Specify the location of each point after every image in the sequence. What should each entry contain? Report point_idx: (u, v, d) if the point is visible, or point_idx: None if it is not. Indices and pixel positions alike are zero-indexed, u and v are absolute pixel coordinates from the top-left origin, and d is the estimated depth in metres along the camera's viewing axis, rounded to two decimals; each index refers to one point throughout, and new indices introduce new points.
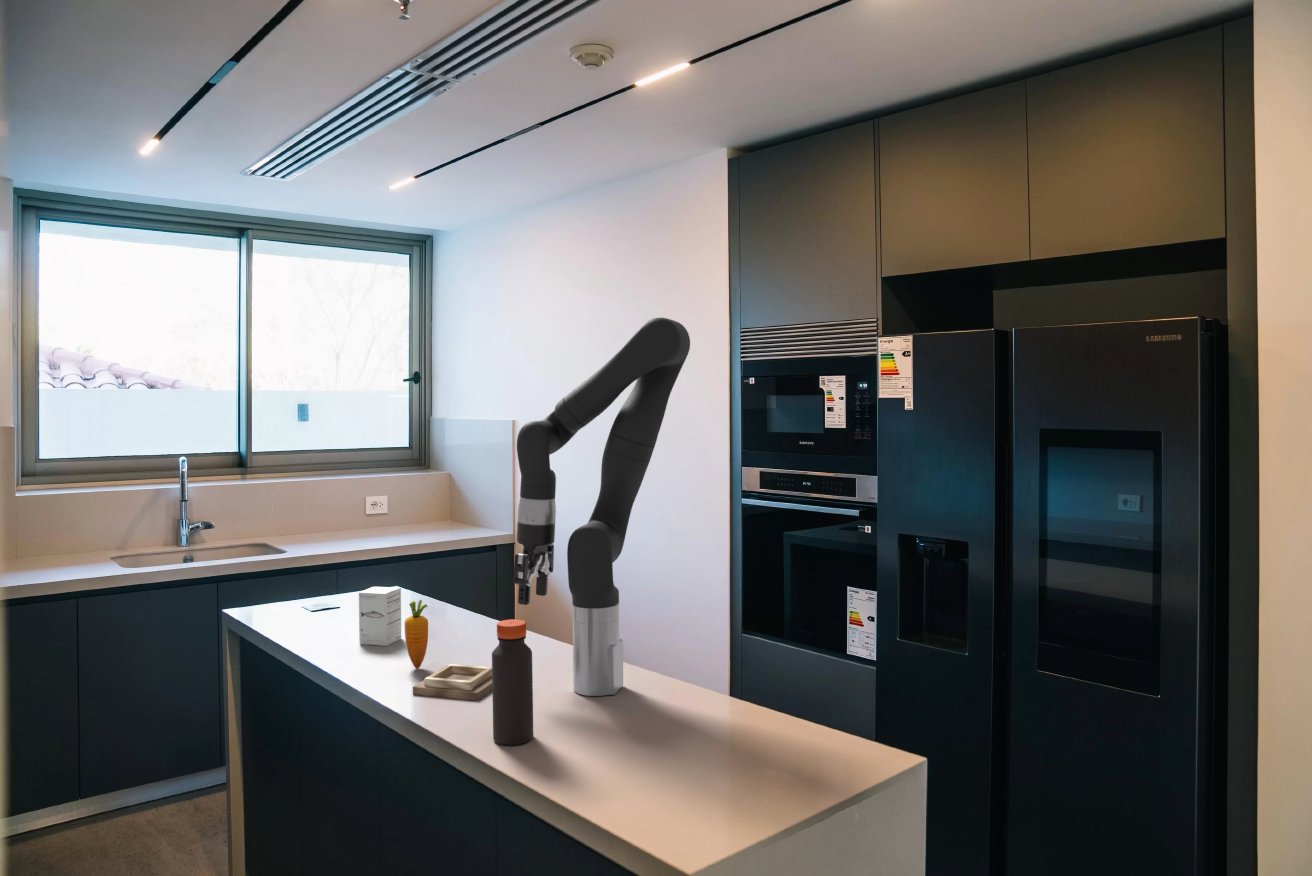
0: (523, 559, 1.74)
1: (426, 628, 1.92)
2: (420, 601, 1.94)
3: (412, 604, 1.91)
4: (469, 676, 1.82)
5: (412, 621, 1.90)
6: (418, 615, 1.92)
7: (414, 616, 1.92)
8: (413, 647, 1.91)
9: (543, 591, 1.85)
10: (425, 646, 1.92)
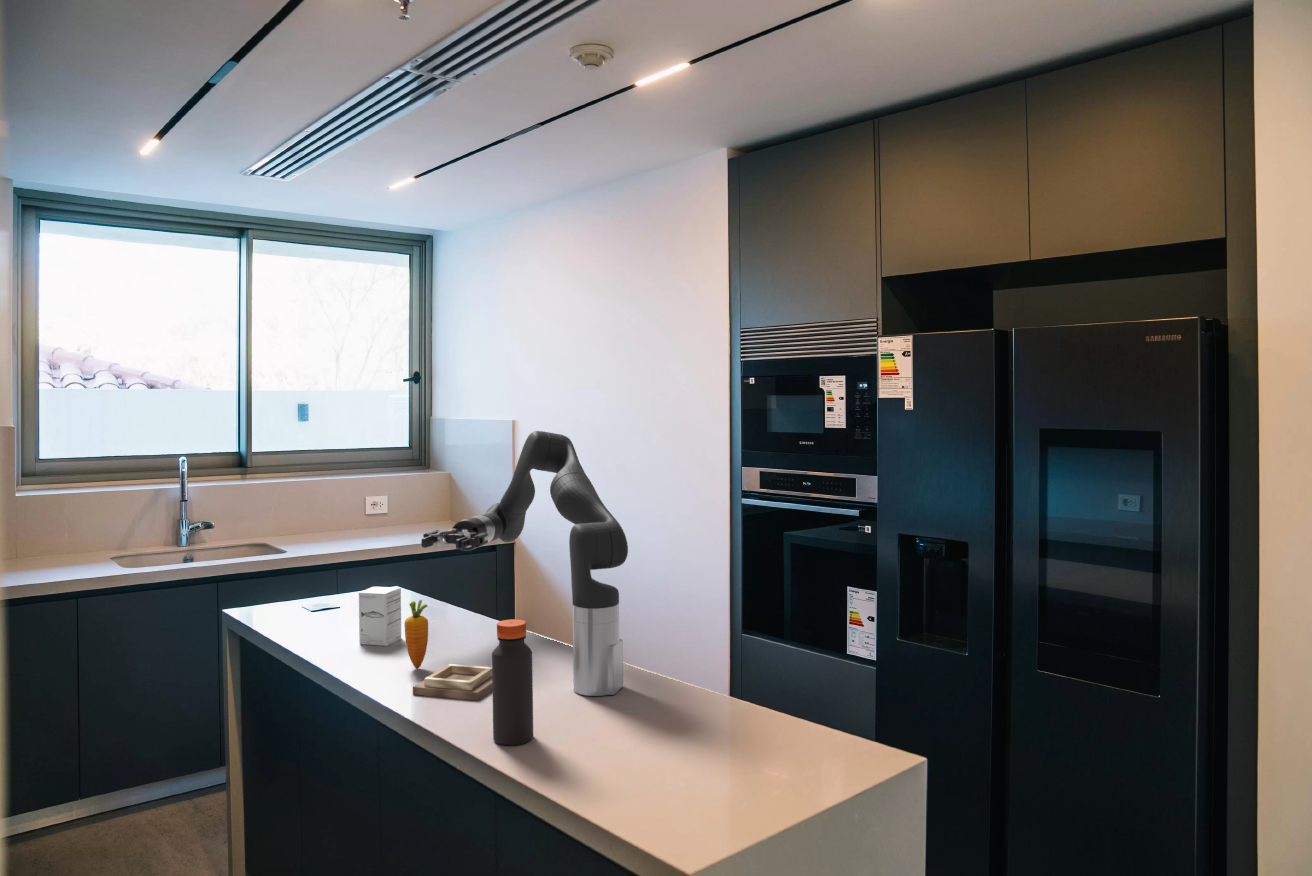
0: None
1: (426, 628, 1.92)
2: (420, 601, 1.94)
3: (412, 604, 1.91)
4: (469, 676, 1.82)
5: (412, 621, 1.90)
6: (418, 615, 1.92)
7: (414, 616, 1.92)
8: (413, 647, 1.91)
9: None
10: (425, 646, 1.92)
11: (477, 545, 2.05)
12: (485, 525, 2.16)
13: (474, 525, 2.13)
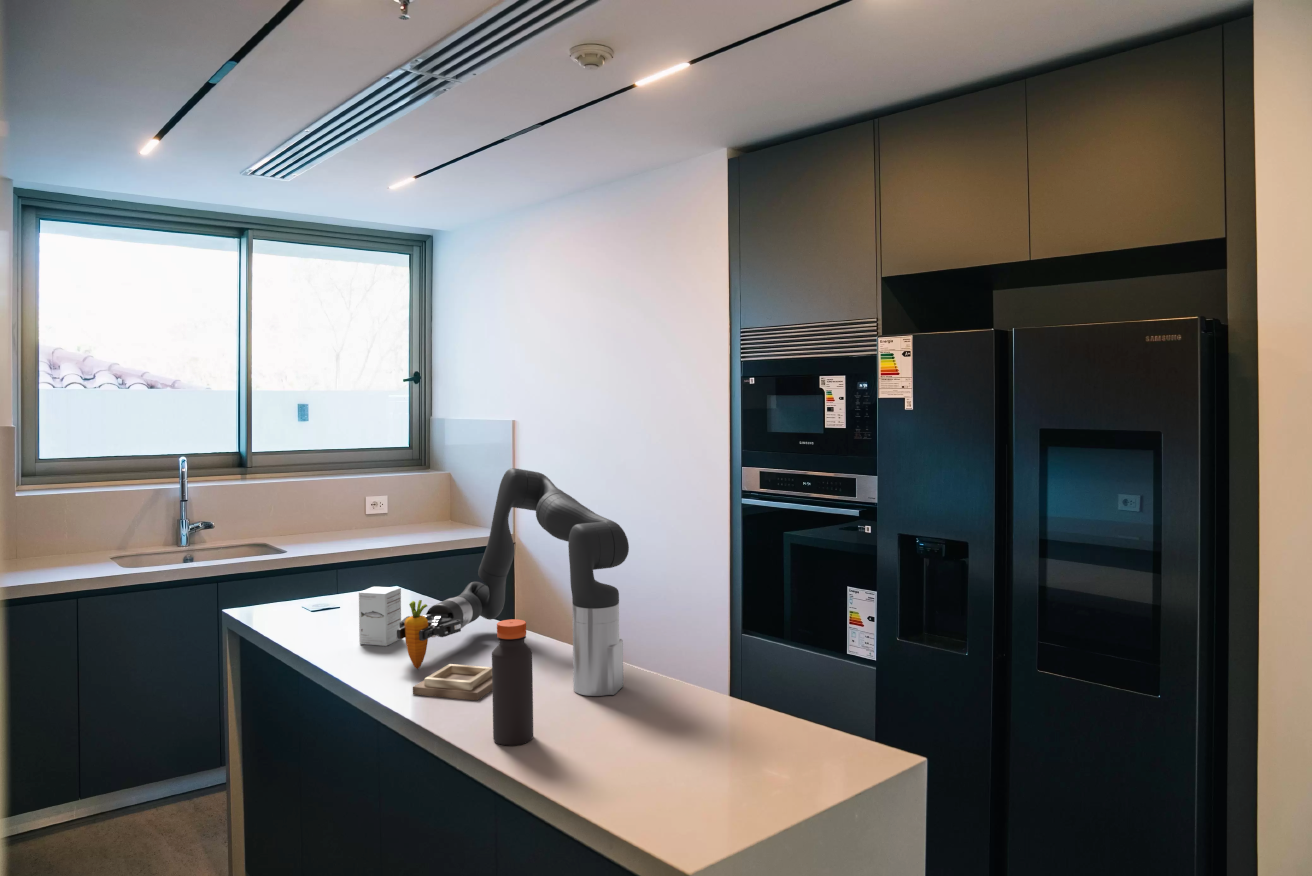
0: None
1: None
2: (420, 601, 1.94)
3: (412, 604, 1.91)
4: (469, 676, 1.82)
5: (412, 621, 1.90)
6: (418, 615, 1.92)
7: (414, 616, 1.92)
8: (413, 647, 1.91)
9: None
10: (425, 646, 1.92)
11: (441, 635, 1.93)
12: (461, 609, 2.05)
13: (449, 610, 2.01)
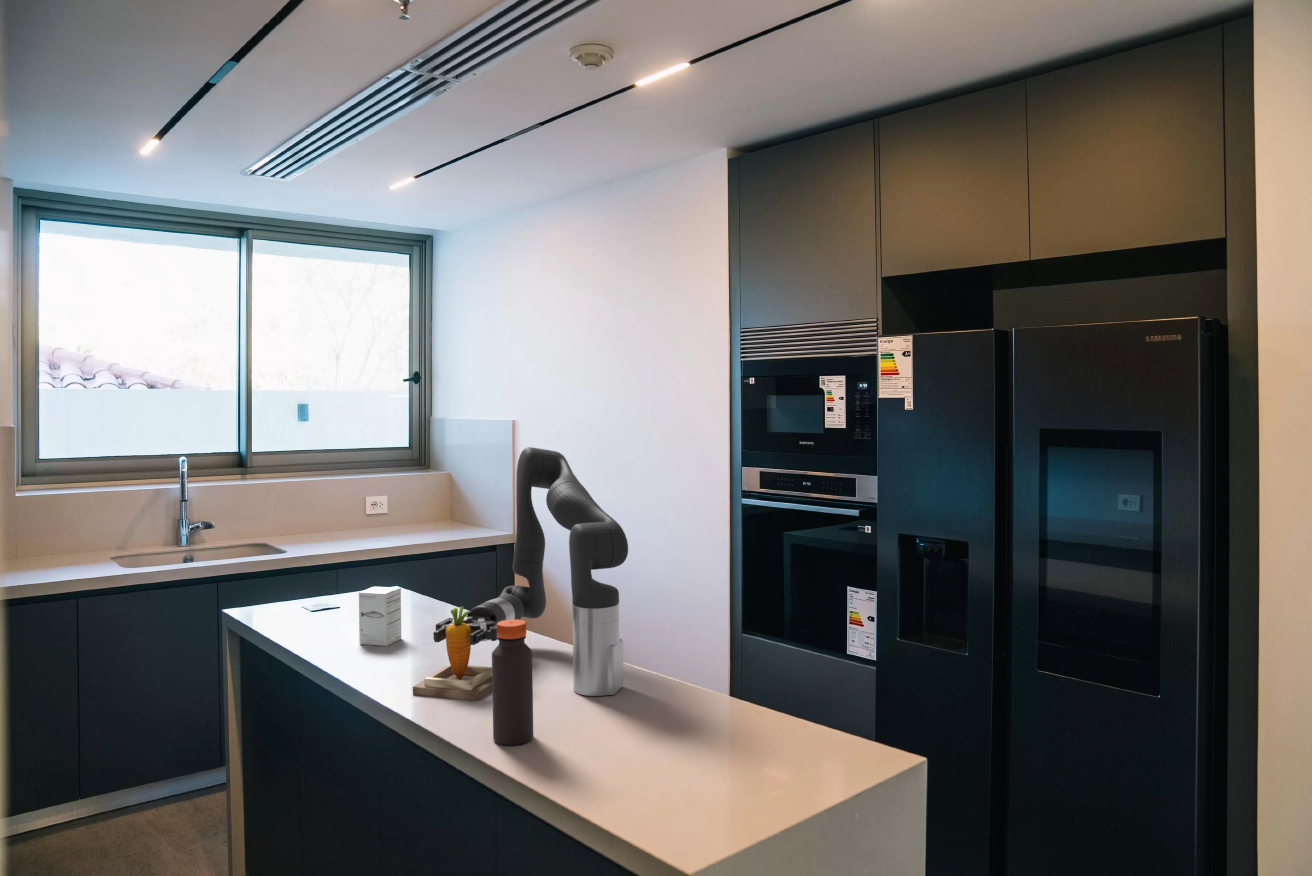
0: None
1: (469, 636, 1.79)
2: (462, 607, 1.81)
3: (454, 611, 1.78)
4: (469, 676, 1.82)
5: (454, 629, 1.77)
6: (460, 623, 1.79)
7: (456, 624, 1.79)
8: (456, 657, 1.78)
9: None
10: (468, 656, 1.80)
11: (494, 639, 1.80)
12: (503, 611, 1.92)
13: (492, 612, 1.88)
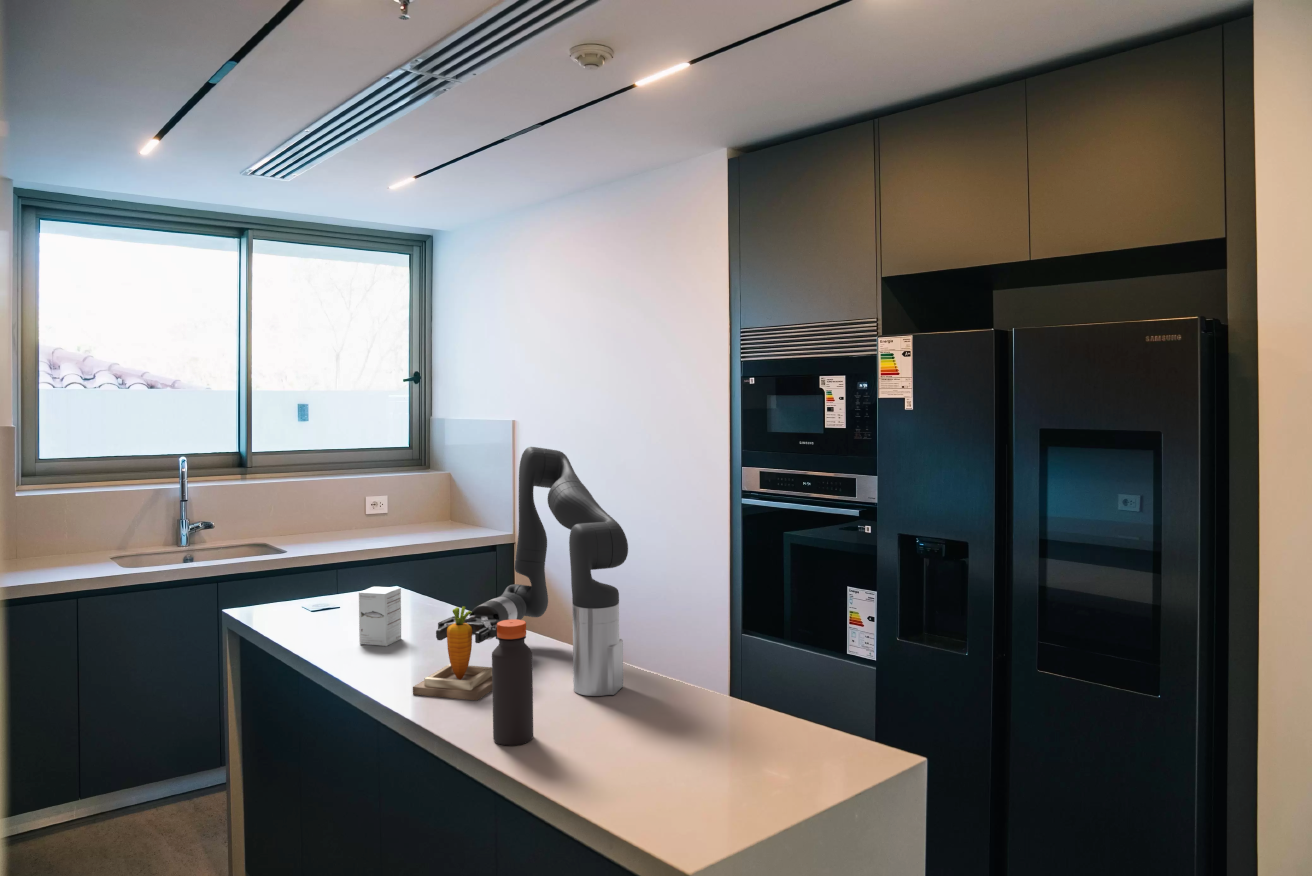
0: None
1: (470, 636, 1.79)
2: (463, 607, 1.81)
3: (456, 611, 1.78)
4: (469, 676, 1.82)
5: (456, 629, 1.78)
6: (462, 622, 1.80)
7: (457, 623, 1.79)
8: (456, 657, 1.78)
9: None
10: (469, 656, 1.80)
11: None
12: (506, 609, 1.93)
13: (495, 611, 1.89)
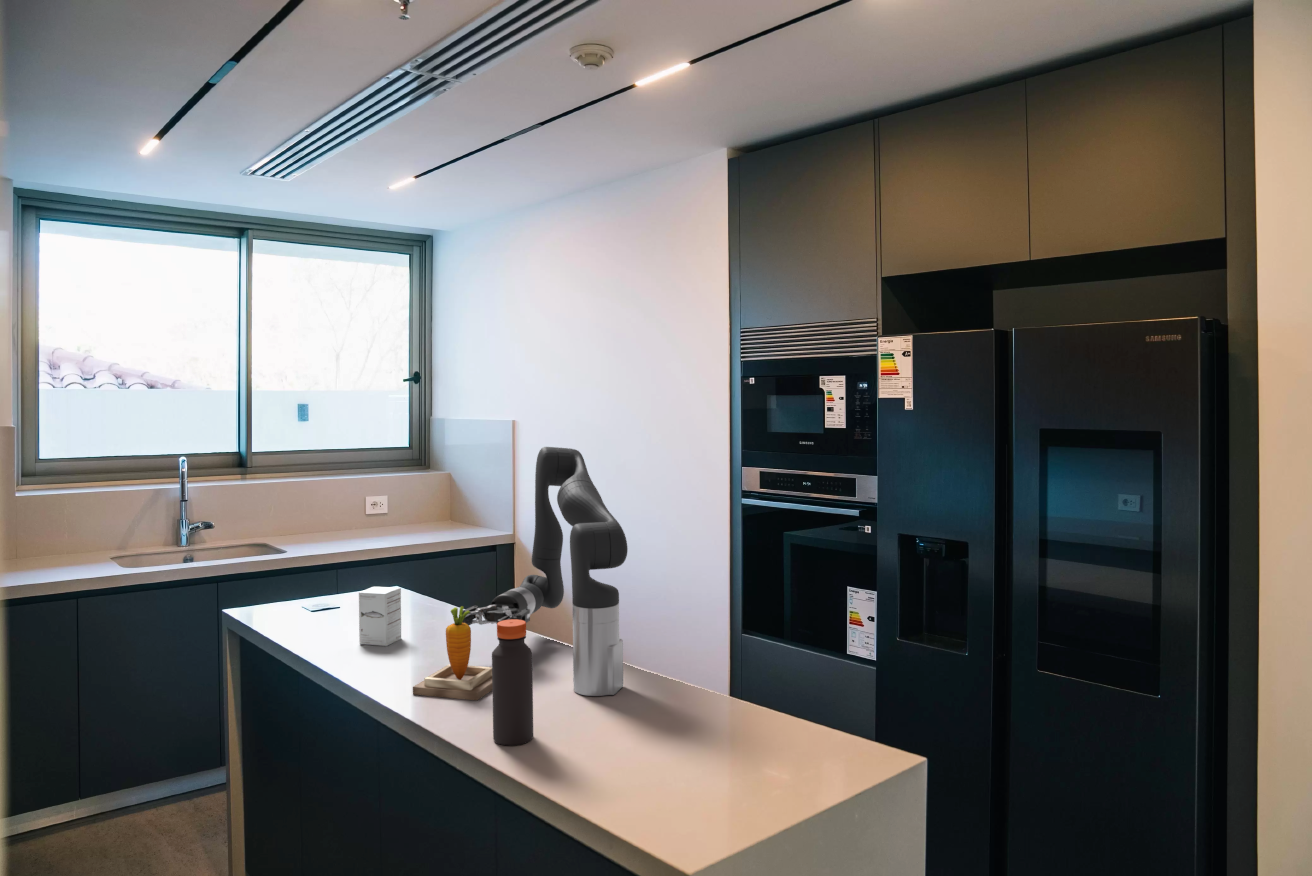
0: None
1: (469, 636, 1.79)
2: (462, 607, 1.81)
3: (454, 611, 1.78)
4: (469, 676, 1.82)
5: (455, 629, 1.78)
6: (460, 622, 1.80)
7: (456, 623, 1.79)
8: (456, 657, 1.78)
9: None
10: (468, 655, 1.80)
11: None
12: (525, 599, 2.03)
13: (515, 600, 1.99)
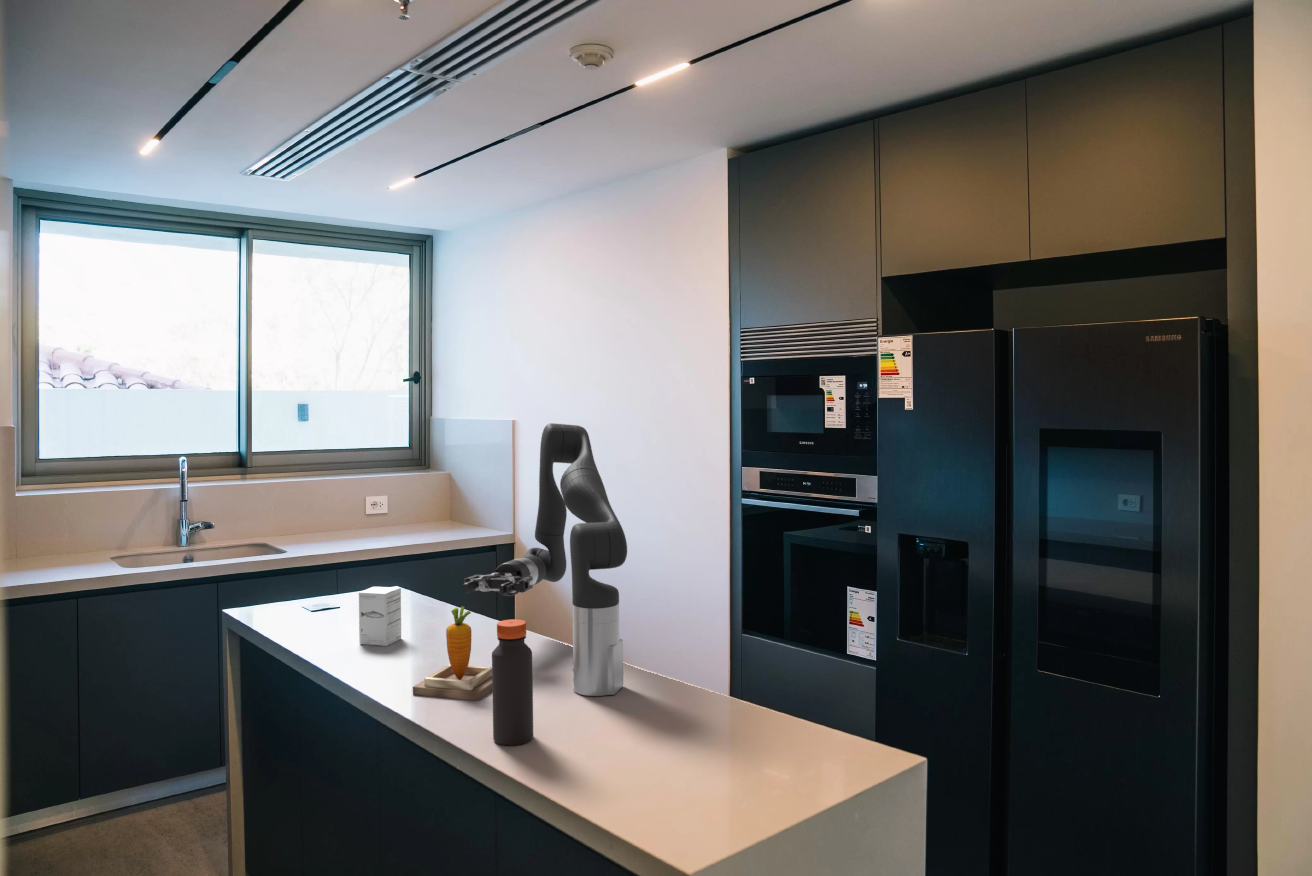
0: None
1: (469, 636, 1.79)
2: (462, 607, 1.81)
3: (455, 611, 1.78)
4: (469, 676, 1.82)
5: (455, 629, 1.77)
6: (461, 623, 1.79)
7: (457, 624, 1.79)
8: (456, 657, 1.78)
9: None
10: (468, 656, 1.80)
11: (522, 590, 1.92)
12: (528, 568, 2.04)
13: (517, 568, 2.00)
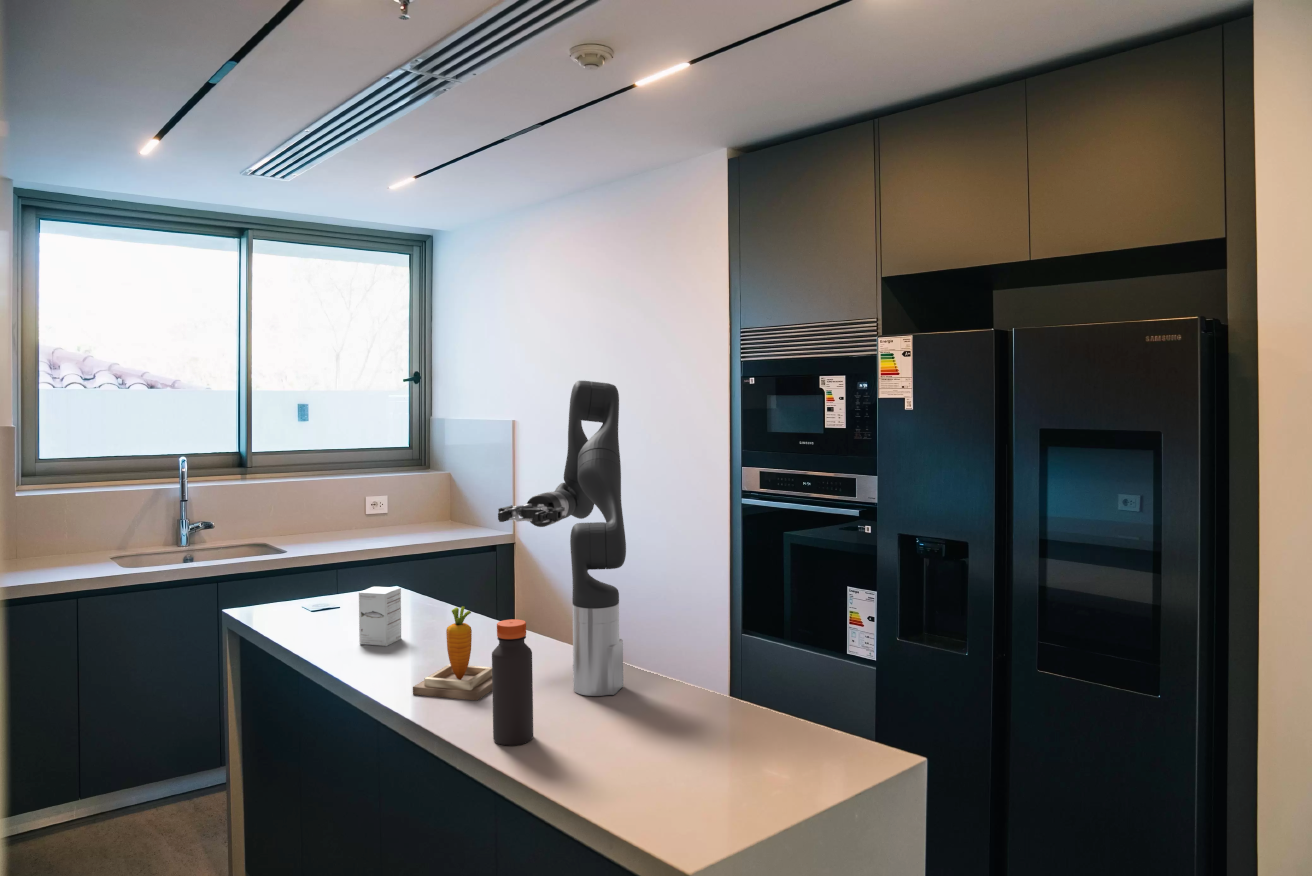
0: None
1: (470, 636, 1.79)
2: (463, 607, 1.81)
3: (455, 611, 1.78)
4: (469, 676, 1.82)
5: (455, 629, 1.78)
6: (461, 622, 1.79)
7: (457, 623, 1.79)
8: (456, 657, 1.78)
9: None
10: (468, 656, 1.80)
11: (555, 519, 1.97)
12: (559, 501, 2.09)
13: (550, 500, 2.05)
